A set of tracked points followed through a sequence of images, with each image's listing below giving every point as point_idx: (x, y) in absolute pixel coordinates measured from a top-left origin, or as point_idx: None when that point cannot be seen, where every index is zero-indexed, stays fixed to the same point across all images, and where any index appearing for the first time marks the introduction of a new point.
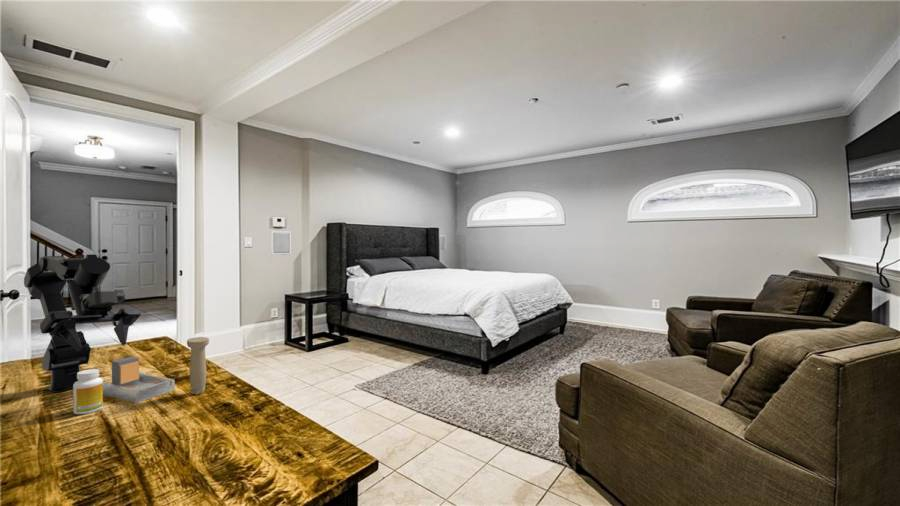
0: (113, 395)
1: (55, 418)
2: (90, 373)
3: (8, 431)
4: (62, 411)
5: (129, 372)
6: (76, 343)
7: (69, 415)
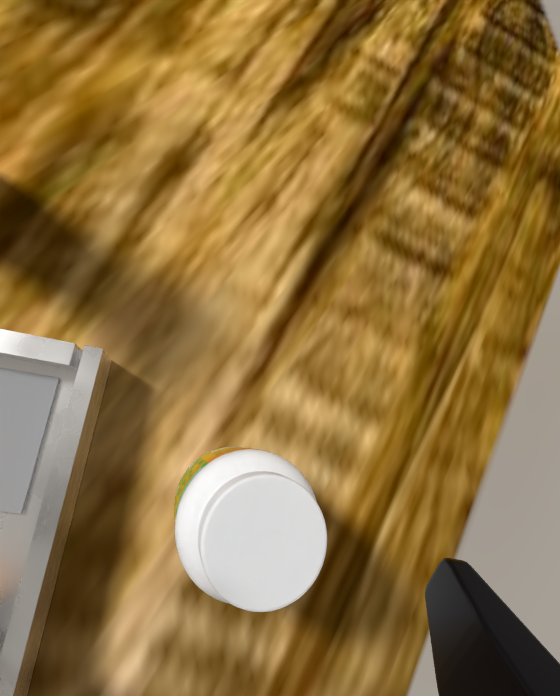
0: (56, 569)
1: None
2: (288, 478)
3: None
4: None
5: None
6: (530, 634)
7: None
